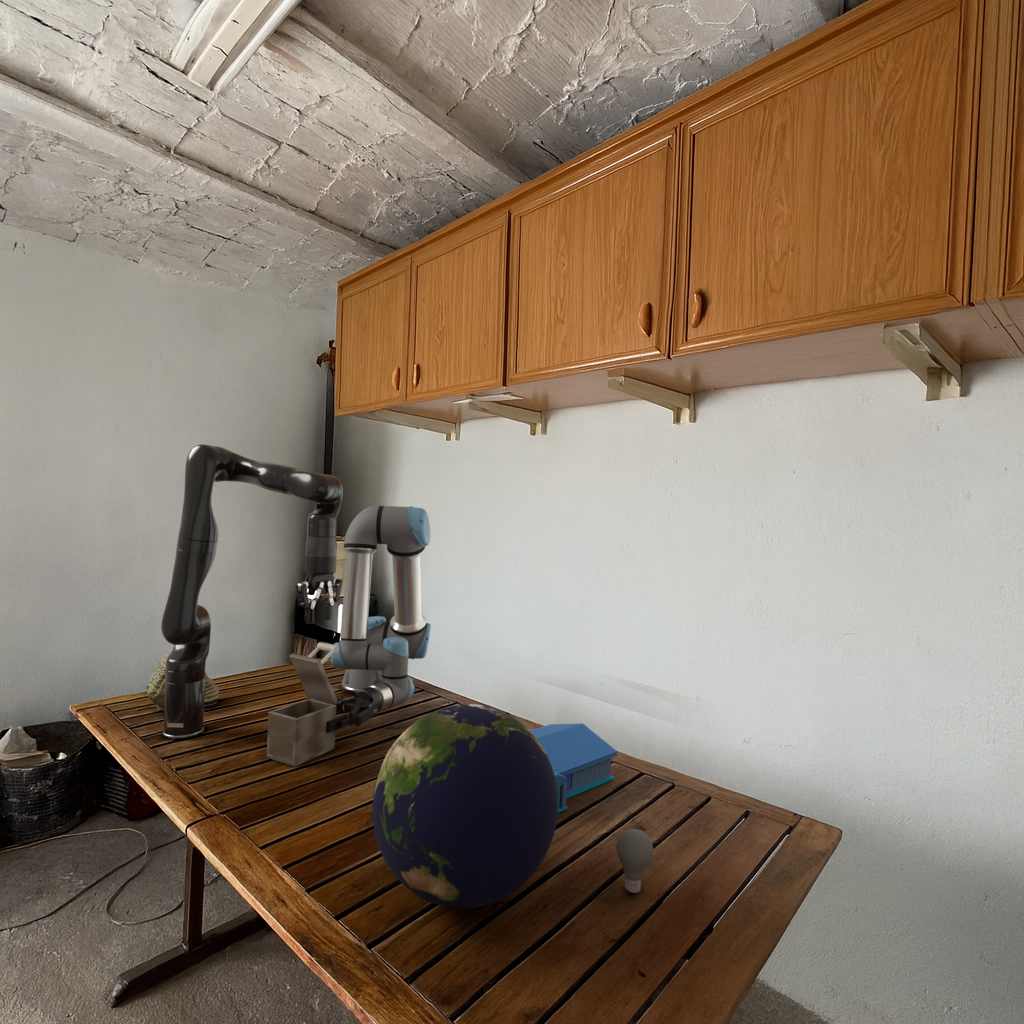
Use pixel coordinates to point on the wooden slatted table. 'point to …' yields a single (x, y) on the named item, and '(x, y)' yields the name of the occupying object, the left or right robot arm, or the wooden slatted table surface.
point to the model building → (575, 758)
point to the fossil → (158, 687)
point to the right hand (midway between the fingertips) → (312, 723)
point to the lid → (315, 673)
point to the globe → (465, 806)
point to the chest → (300, 731)
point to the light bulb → (634, 857)
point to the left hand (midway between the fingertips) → (318, 621)
